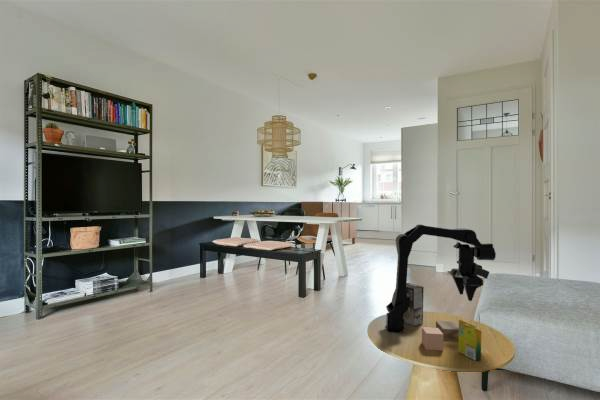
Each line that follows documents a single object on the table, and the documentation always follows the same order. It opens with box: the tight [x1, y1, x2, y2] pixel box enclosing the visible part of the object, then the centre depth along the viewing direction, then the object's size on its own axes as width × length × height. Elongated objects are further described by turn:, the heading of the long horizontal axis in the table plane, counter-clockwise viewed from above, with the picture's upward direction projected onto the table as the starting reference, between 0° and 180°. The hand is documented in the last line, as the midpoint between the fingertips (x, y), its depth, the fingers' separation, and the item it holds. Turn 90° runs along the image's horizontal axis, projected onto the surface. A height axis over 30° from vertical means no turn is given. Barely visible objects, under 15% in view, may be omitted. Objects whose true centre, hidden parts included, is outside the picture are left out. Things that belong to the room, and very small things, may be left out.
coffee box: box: [403, 282, 424, 326], centre depth 152 cm, size 9×6×16 cm
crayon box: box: [458, 319, 482, 361], centre depth 119 cm, size 7×3×12 cm, turn 21°
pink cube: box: [421, 326, 444, 351], centre depth 126 cm, size 6×6×6 cm
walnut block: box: [435, 320, 459, 340], centre depth 138 cm, size 9×9×4 cm
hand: (465, 297), depth 139 cm, fingers open, 9 cm apart
